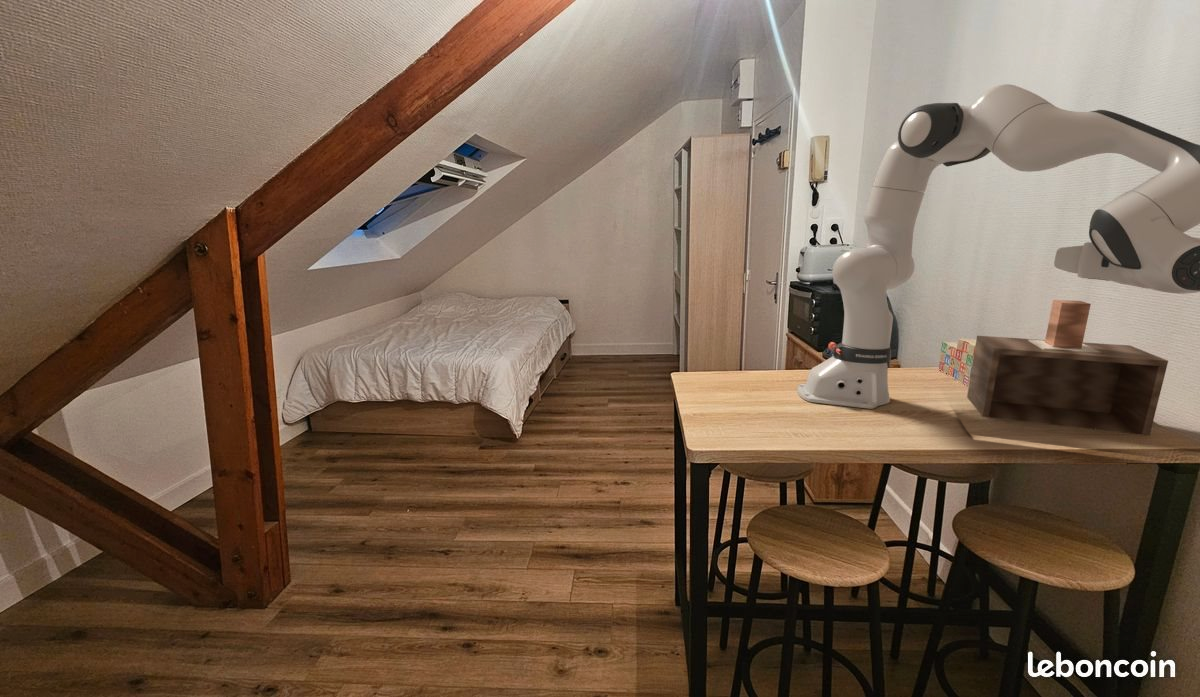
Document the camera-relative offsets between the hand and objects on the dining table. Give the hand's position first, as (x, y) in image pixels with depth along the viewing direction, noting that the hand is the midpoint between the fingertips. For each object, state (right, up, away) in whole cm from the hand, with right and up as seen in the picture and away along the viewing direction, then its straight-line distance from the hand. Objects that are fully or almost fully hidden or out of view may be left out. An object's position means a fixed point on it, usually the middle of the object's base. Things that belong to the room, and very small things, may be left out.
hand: (1107, 257), depth 104 cm
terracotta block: (+5, -17, +15) cm, 24 cm away
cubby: (+5, -35, +19) cm, 40 cm away
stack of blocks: (+7, -28, +50) cm, 58 cm away
